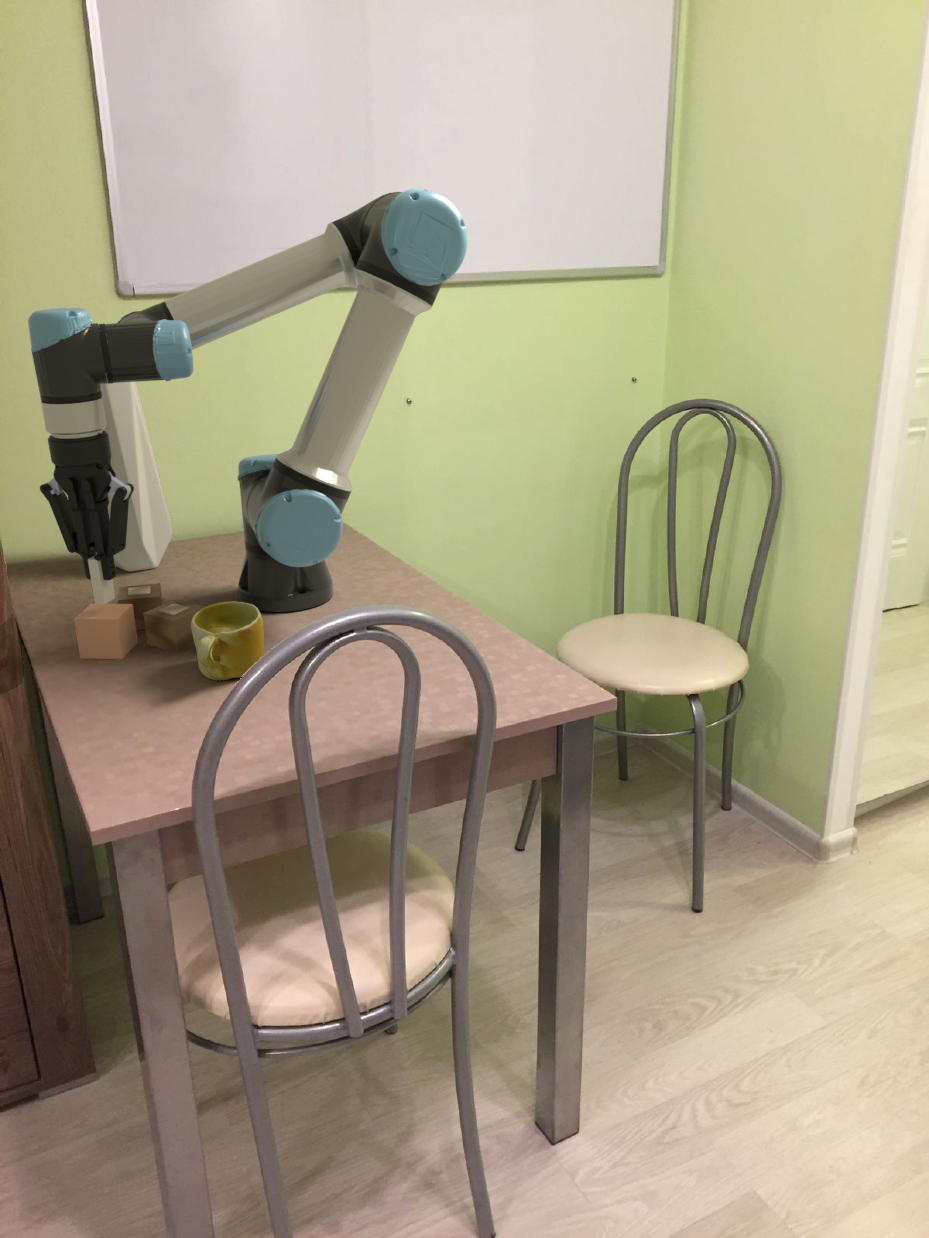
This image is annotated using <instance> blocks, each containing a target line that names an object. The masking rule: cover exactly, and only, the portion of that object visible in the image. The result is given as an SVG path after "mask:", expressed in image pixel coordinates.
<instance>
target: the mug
mask: <svg viewBox="0 0 929 1238" xmlns="http://www.w3.org/2000/svg"><path fill="white" fill-rule="evenodd" d="M204 607H205V608H203V609H201V610H200V611H198V612H197V613H196V614H195V615H194V616H193V618H192V620H191V630H192V635H193V639H194V643H195V645H194V646H195V649H196V654H197V657H196V659H197V663H198V669H199V672H201V674H202V675H203V676H204V677H205V678H207V679H209V680H211V679H212V681H218V680H219V682H221V680H222V681H227V680H230V679H234V678H235V679H239V678H241V676H242V675H243V674H244V673H245V672H246V671H247V670H248V669H249V668H250V667H251V666H252V665H253V664H254V663H255V662H257V661H258V660H259V659H260V657H262V656H263V655H264V656H265V631H264V619H263V616H262V613H261V612H260V611H259V610H258V608H257V607H256V606H254V605H252V604H249V603H244V602H240V601H236V600H235V601H232V600H231V601H230V600H229V601H222V602H221V601H220V602H216V603H213V604H210V605H207V606H204Z"/></svg>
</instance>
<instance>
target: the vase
mask: <svg viewBox="0 0 929 1238" xmlns="http://www.w3.org/2000/svg"><path fill="white" fill-rule="evenodd" d="M101 391H102V398H103V405H104V412H105V418H106V427H105V428H104V429H102V430H104V431H106V433H108V436H109V442H110V449H111V466H112V469H113V470H114V472H115V474H116V478H117V479H118V480H120V481H121V482H123V483H124V484H128V483H130V484H132V485H133V486H134V491H133V493H132V495H131V497H130V499H129V507H128V520H127V534H126V547H125V549H124V550H122V551H120V552H119V553H117V554H115V555H114V563H115V568H118V569H121V570H123V571H125V572H131V573H132V572H138V571H145V570H151V569H156V568H158V567H159V566H160V563H161V561H162V559H163V557H164V555H165V552H166V550H167V548H168V546H169V543H170V542H171V539H172V536H173V528H172V523H171V518H170V514H169V509H168V505H167V502H166V498H165V494H164V489H163V485H162V482H161V478H160V473H159V469H158V465H157V464H158V463H157V462H156V456H155V453H154V448H153V444H152V441H151V437H150V433H149V428H148V424H147V420H146V415H145V413H144V412H145V411H144V407H143V404H142V400H141V396H140V391H139V388H138V382H119V383H112V384H108V382H107V384H101ZM111 492H112V489H110V491H109V493H108V499H109V504H108V513H109V519H110V511H111V502H112V498H113V497H112V496H111Z"/></svg>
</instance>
